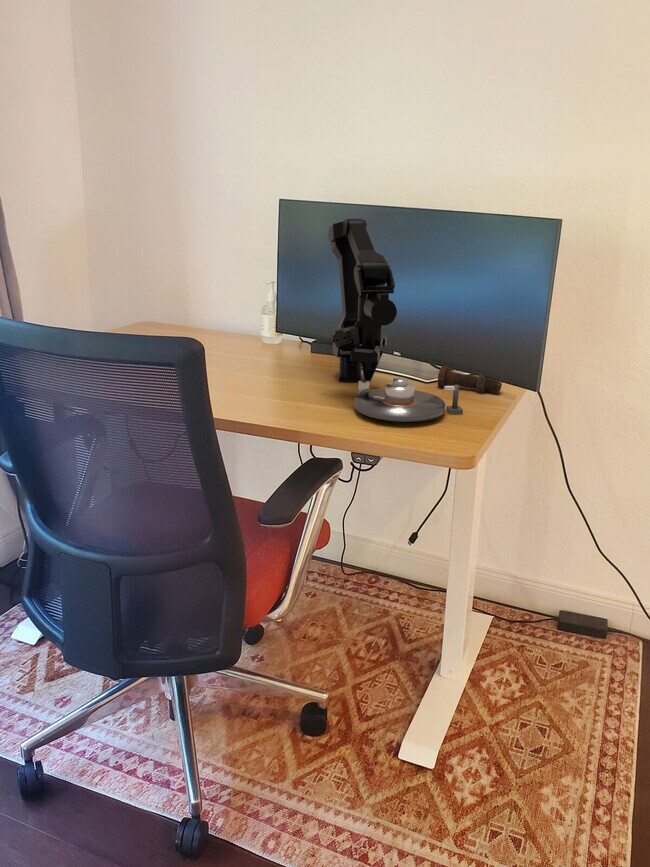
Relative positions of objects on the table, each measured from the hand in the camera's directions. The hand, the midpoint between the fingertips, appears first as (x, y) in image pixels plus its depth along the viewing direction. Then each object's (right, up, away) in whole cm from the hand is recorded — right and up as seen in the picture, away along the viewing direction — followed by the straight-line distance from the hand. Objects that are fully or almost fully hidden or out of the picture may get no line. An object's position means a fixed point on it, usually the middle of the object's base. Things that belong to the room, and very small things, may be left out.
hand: (367, 382), depth 176 cm
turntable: (+6, -6, -9) cm, 13 cm away
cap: (+6, -5, -10) cm, 13 cm away
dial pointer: (+19, -7, -8) cm, 22 cm away
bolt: (+25, -2, +9) cm, 27 cm away
